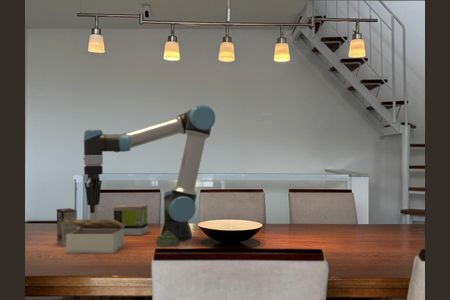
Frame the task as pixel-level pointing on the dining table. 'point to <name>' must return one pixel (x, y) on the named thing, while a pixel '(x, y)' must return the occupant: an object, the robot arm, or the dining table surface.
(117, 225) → the lid
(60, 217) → the coffee box
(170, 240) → the decorative artifact
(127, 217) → the tea box
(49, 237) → the dining table surface
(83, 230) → the chest
